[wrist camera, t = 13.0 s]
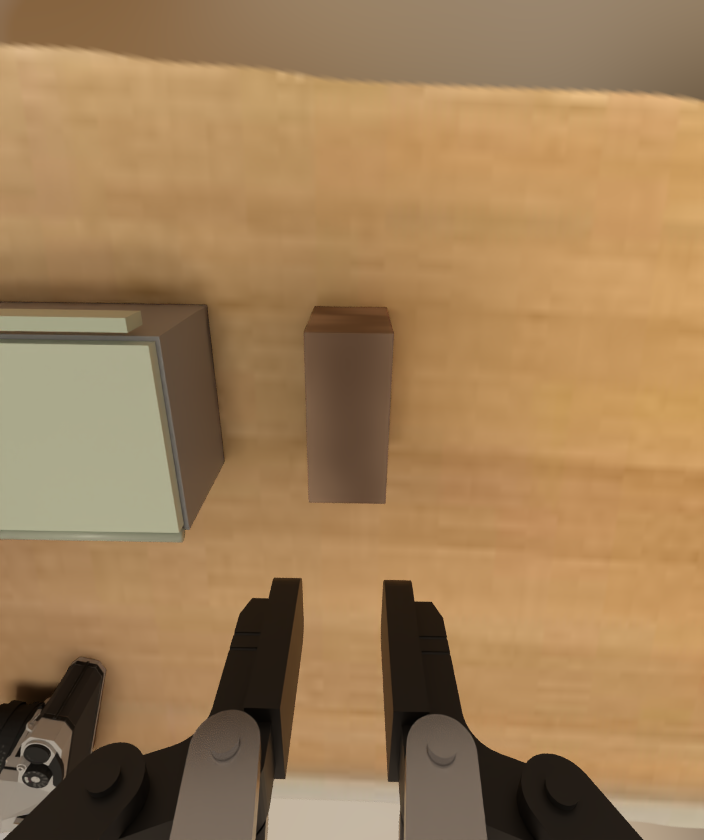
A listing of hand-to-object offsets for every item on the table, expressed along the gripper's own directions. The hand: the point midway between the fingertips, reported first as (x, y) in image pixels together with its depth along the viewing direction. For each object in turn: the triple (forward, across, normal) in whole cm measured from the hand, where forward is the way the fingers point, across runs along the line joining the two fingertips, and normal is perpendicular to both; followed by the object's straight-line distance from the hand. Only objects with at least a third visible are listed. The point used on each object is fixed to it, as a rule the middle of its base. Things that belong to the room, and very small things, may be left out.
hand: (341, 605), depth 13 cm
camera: (+17, +24, +29) cm, 42 cm away
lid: (+10, +15, +6) cm, 18 cm away
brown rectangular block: (+17, 0, 0) cm, 17 cm away
